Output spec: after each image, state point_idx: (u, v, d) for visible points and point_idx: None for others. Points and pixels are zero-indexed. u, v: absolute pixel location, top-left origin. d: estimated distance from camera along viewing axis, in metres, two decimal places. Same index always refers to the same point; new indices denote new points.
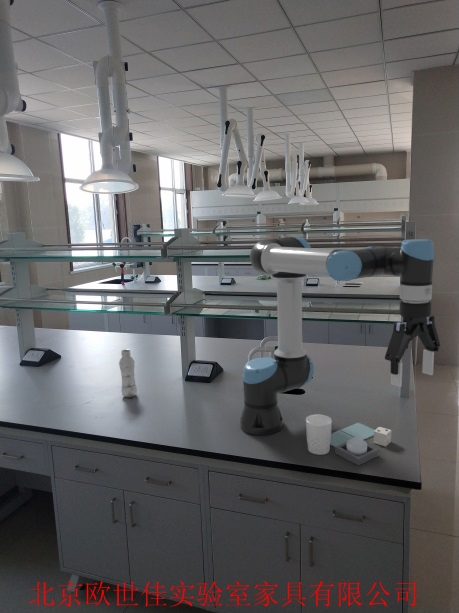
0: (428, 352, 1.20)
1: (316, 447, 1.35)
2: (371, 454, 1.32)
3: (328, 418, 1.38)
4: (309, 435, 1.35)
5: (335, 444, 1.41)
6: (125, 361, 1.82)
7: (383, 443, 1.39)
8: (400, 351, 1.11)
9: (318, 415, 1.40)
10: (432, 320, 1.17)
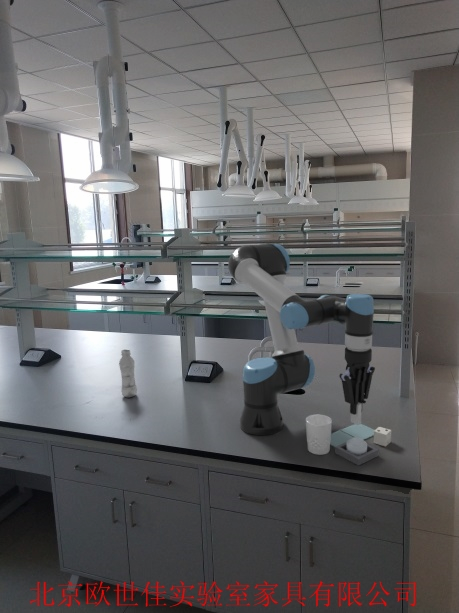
0: None
1: (316, 447, 1.35)
2: (371, 454, 1.32)
3: (328, 418, 1.38)
4: (309, 435, 1.35)
5: (335, 444, 1.41)
6: (125, 361, 1.82)
7: (383, 443, 1.39)
8: (354, 396, 1.30)
9: (318, 415, 1.40)
10: (372, 370, 1.32)
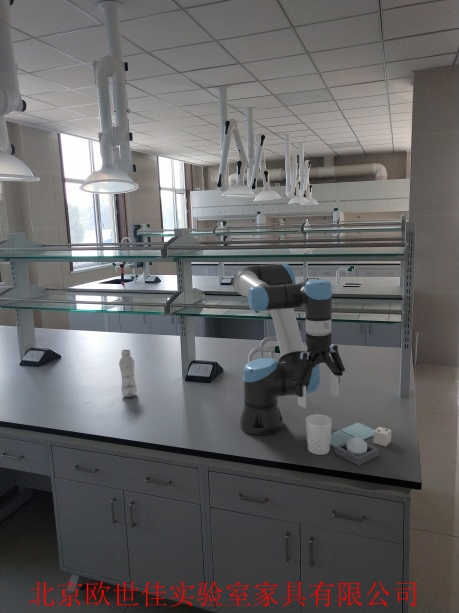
0: (334, 376, 1.37)
1: (316, 447, 1.35)
2: (371, 454, 1.32)
3: (328, 418, 1.38)
4: (309, 435, 1.35)
5: (335, 444, 1.41)
6: (125, 361, 1.82)
7: (383, 443, 1.39)
8: (304, 377, 1.29)
9: (318, 415, 1.40)
10: (335, 349, 1.35)
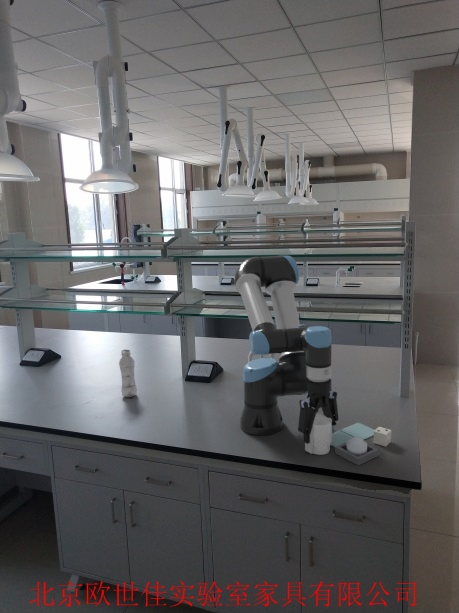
0: None
1: (316, 447, 1.35)
2: (371, 454, 1.32)
3: (328, 418, 1.38)
4: None
5: (335, 444, 1.41)
6: (125, 361, 1.82)
7: (383, 443, 1.39)
8: (309, 424, 1.33)
9: (318, 415, 1.40)
10: (334, 395, 1.37)
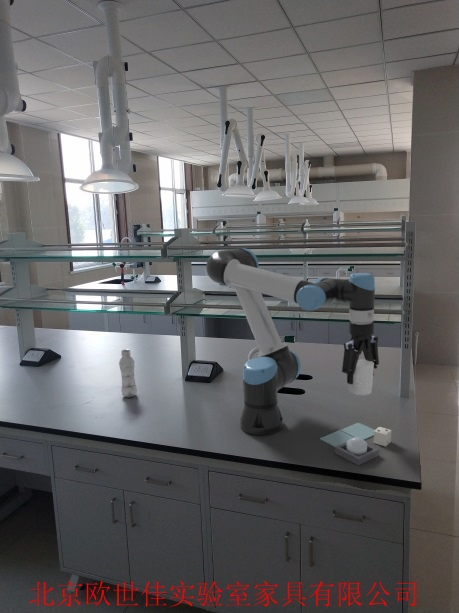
0: None
1: (359, 388, 1.42)
2: (371, 454, 1.32)
3: (370, 361, 1.45)
4: None
5: (335, 444, 1.41)
6: (125, 361, 1.82)
7: (383, 443, 1.39)
8: (352, 365, 1.41)
9: (360, 359, 1.47)
10: (376, 340, 1.45)
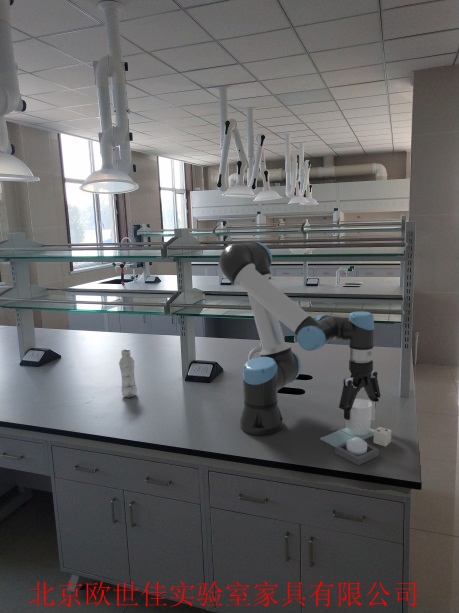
0: None
1: (358, 428, 1.45)
2: (371, 454, 1.32)
3: (368, 402, 1.48)
4: None
5: (335, 444, 1.41)
6: (125, 361, 1.82)
7: (383, 443, 1.39)
8: (350, 402, 1.43)
9: (358, 399, 1.50)
10: (375, 375, 1.47)
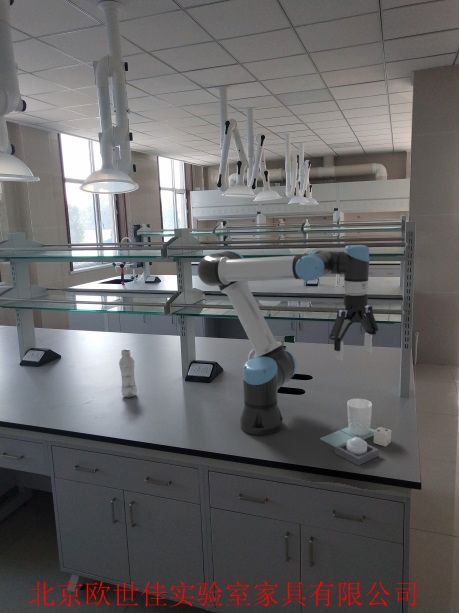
0: (368, 335, 1.50)
1: (358, 428, 1.45)
2: (371, 454, 1.32)
3: (368, 402, 1.48)
4: (351, 417, 1.45)
5: (335, 444, 1.41)
6: (125, 361, 1.82)
7: (383, 443, 1.39)
8: (341, 332, 1.42)
9: (358, 399, 1.50)
10: (370, 309, 1.47)
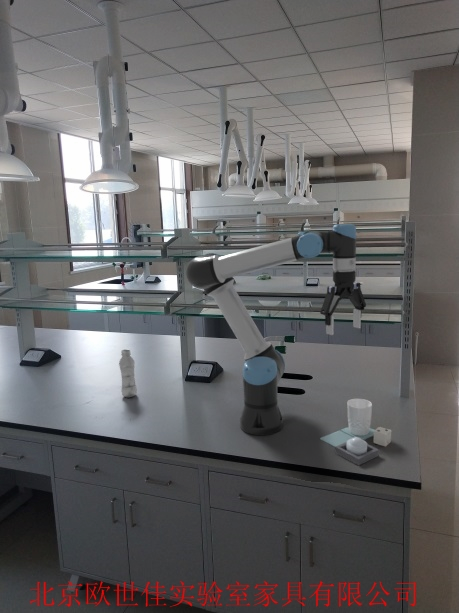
0: (356, 310, 1.57)
1: (358, 428, 1.45)
2: (371, 454, 1.32)
3: (368, 402, 1.48)
4: (351, 417, 1.45)
5: (335, 444, 1.41)
6: (125, 361, 1.82)
7: (383, 443, 1.39)
8: (332, 307, 1.49)
9: (358, 399, 1.50)
10: (358, 286, 1.55)
